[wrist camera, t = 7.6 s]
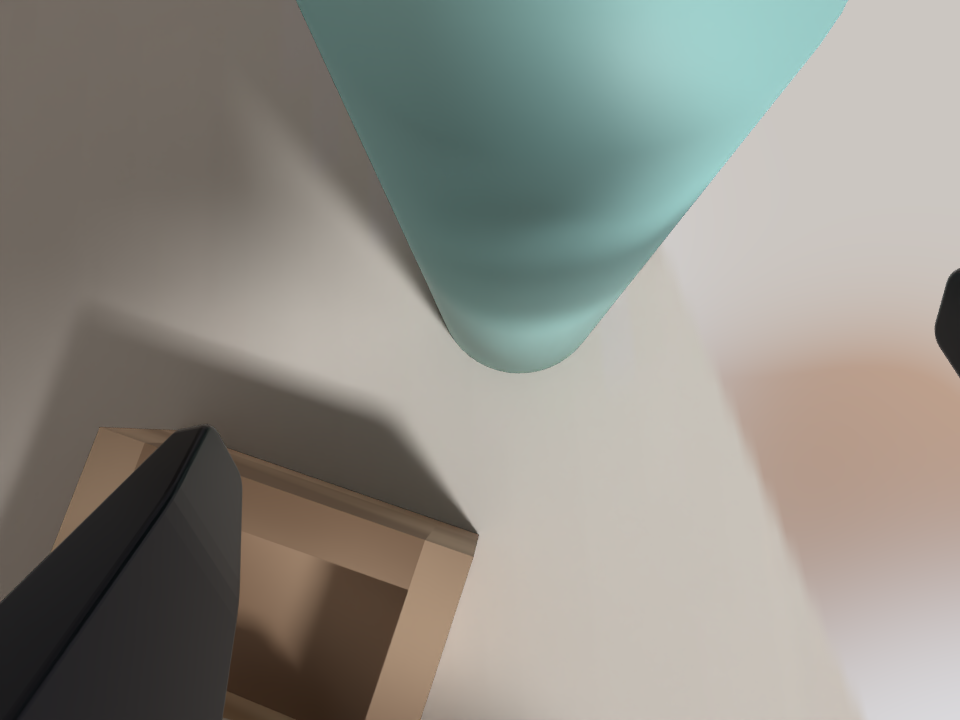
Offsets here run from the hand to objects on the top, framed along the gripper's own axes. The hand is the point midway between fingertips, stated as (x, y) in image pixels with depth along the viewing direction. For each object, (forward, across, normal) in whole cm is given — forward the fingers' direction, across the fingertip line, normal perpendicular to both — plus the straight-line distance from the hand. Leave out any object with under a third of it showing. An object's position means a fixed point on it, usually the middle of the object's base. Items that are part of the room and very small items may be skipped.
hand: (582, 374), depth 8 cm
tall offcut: (+8, 0, +4) cm, 9 cm away
